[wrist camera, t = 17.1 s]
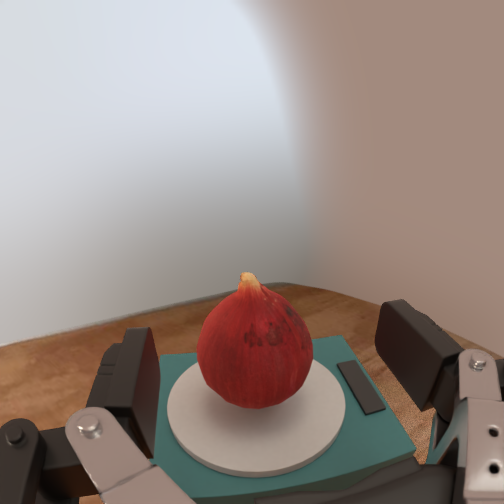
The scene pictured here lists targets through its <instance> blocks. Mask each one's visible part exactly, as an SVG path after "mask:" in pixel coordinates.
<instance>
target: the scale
mask: <svg viewBox="0 0 504 504" xmlns="http://www.w3.org/2000/svg"><path fill="white" fill-rule="evenodd" d="M312 344H313V361H312V364H311V368H310V371H309V373H308V375H307V378H306V380H305V382H304V384H303V386H302V387H301V388H300V389H299V390H298V391H297V392H296V393H295V394H294V395H293V396H291V397H290V398H288V399H287V400H285V401H283V402H282V403H280V404H278V405H274V406H270V407H266V408H262V409H249V408H242V407H239V406H236V405H234V404H231V403H228V402H226V401H225V400H224V399H223V398H222V397H221V396H220V395H218V394H217V393H216V392H215V391H214V390H212V389H211V388H210V387H209V386H208V385H207V384H206V382H205V380H204V377H203V375H202V373H201V370H200V367H199V364H198V361H197V353H185V354H168V355H160V362H159V365H160V373H161V383H160V392H159V402H158V412H157V423H156V435H155V449H154V459H150V460H149V461H150V462H151V463H152V464H153V465H154V464H157V465H158V466H159V467H160V468H161V469H162V470H163V471H164V472H165V473H166V474H167V475H168V476H169V477H170V478H171V479H172V480H173V481H174V482H175V483H176V484H177V485H178V486H179V487H180V488H181V489H182V490H183V491H184V492H185V493H186V494H187V495H188V496H189V497H190V498H191V499H192V500H193V501H194V502H195V503H196V504H254V498H260V497H267V496H273V495H279V494H285V493H290V492H296V491H327V490H343V489H346V488H348V487H350V486H352V485H354V484H356V483H357V482H359V481H361V480H362V479H364V478H366V477H367V476H369V475H371V474H372V473H374V472H376V471H377V470H379V469H380V468H383V467H386V466H389V465H392V464H394V463H397V462H399V461H402V460H405V459H407V458H410V457H412V456H413V454H414V453H415V451H416V447H415V445H414V444H413V442H412V440H411V439H410V437H409V436H408V434H407V433H406V431H405V430H404V428H403V427H402V425H401V423H400V422H399V420H398V419H397V417H396V416H395V414H394V413H393V411H392V410H391V408H390V407H389V405H388V404H387V402H386V400H385V399H384V397H383V396H382V394H381V393H380V391H379V390H378V388H377V387H376V385H375V384H374V382H373V381H372V379H371V378H370V376H369V375H368V373H367V372H366V370H365V369H364V367H363V366H362V364H361V363H360V361H359V360H358V358H357V357H356V355H355V354H354V353H353V351H352V350H351V348H350V347H349V345H348V344H347V342H346V341H345V339H344V338H343V336H342V335H337V336H331V337H325V338H319V339H313V340H312Z"/></svg>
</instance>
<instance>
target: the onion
mask: <svg viewBox="0 0 504 504" xmlns="http://www.w3.org/2000/svg"><path fill="white" fill-rule="evenodd" d="M240 279H241V282H240V283H239V286H238V291H236V292H235V293H233V294H231V295H229V296H228V297H226V298H225V299H224V300H223V301H222V302H220V303H219V304H218V305H217V306H216V307H215V308H214V309H213V310H212V311H211V313H210V314H209V315H208V316H207V318H206V320H205V322H204V323H203V327H202V330H201V333H200V337H199V340H198V344H197V361H198V364H199V367H200V370H201V373H202V375H203V377H204V380H205V382H206V384H207V385H208V386H209V387H210V388H211V389H212V390H214V391H215V392H216V393H217V394H218V395H220V396H221V397H222V398H223V399H224V400H225V401H226V402H228V403H231V404H234V405H236V406H239V407H242V408H249V409H262V408H266V407H270V406H274V405H278V404H280V403H282V402H283V401H285V400H287V399H288V398H290V397H291V396H293V395H294V394H295V393H296V392H297V391H298V390H299V389H300V388H301V387H302V386H303V384H304V382H305V380H306V378H307V375H308V373H309V371H310V368H311V364H312V361H313V344H312V340H311V337H310V334H309V331H308V329H307V326H306V324H305V322H304V321H303V319H302V318H301V317H300V315H299V314H298V313H297V311H296V310H295V309H294V308H293V306H292V305H291V304H290V303H289V302H288V301H287V300H286V299H285V298H283V297H282V296H280V295H279V294H277V293H275V292H273V291H270V290H268V289H267V288H266V287H265V286H263V285H262V284H261V283H260V282H259V281H258V280H257V278H256V276H255V275H253V274H252V273H248V272H245V273H242V274H241V276H240Z"/></svg>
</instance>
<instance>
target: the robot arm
mask: <svg viewBox="0 0 504 504" xmlns="http://www.w3.org/2000/svg"><path fill="white" fill-rule="evenodd" d="M375 347H376V350H377V353H378V354H379V356H380V357H381V358H382V360H383V361H384V362H385V364H386V365H387V366H388V368H389V369H390V370H391V372H392V373H393V374H394V376H395V377H396V378H397V380H398V381H399V382H400V384H401V385H402V386H403V388H404V389H405V390H406V392H407V393H408V394H409V396H410V397H411V398H412V400H413V401H414V403H415V404H416V405H417V407H418V408H419V409H420V411H421V412H423V411H425V410H428V409H430V408H433V407H434V408H435V409H436V411H435V413H434V415H433V421H432V429H431V437H430V444H429V450H428V456H427V460H426V462H425V464H421V465H419V463H418V462H417V460H416V458H415V457H414V456H412V457H410V458H407V459H405V460H402V461H399V462H397V463H394V464H392V465H389V466H386V467H383V468H380V469H379V470H377V471H376V472H374V473H372V474H371V475H369V476H367V477H366V478H364V479H362V480H361V481H359V482H357V483H356V484H354V485H352V486H350V487H348V488H346V489H343V490H327V491H296V492H290V493H285V494H279V495H273V496H267V497H260V498H254V504H504V359H500V360H494V359H493V357H492V356H491V355H489V354H488V353H486V352H484V351H482V350H479V349H467V350H464V349H463V348H462V347H461V346H460V345H459V344H458V343H457V342H456V341H454V340H453V339H452V338H451V337H450V336H449V335H448V334H447V333H446V332H445V331H442V329H441V328H440V327H439V326H438V325H436V324H435V322H434V321H433V320H432V319H430V318H429V317H428V316H427V315H425V314H423V313H421V312H419V311H417V310H415V309H414V308H413V307H411V306H410V305H409V304H408V303H407V302H406V301H405V300H402V299H400V300H394V301H388V302H384V303H383V304H382V306H381V309H380V315H379V320H378V325H377V330H376V335H375ZM100 365H101V366H99V369H98V372H97V375H96V377H95V380H94V383H93V386H92V389H91V392H90V395H89V398H88V401H87V404H86V407H85V408H83V409H81V410H79V411H77V412H75V413H74V414H73V415H72V416H71V417H70V418H69V419H68V421H67V423H66V426H65V427H61V428H55V429H49V430H42V431H39V430H38V429H37V427H36V426H35V424H34V423H33V422H31V421H30V420H27V419H23V418H18V419H13V420H11V421H9V422H7V423H5V424H4V425H3V426H2V427H1V428H0V504H79V497H83V496H90V495H96V494H99V496H100V498H101V499H102V501H103V503H104V504H196V503H195V502H194V501H193V500H192V499H191V498H190V497H189V496H188V495H187V494H186V493H185V492H184V491H183V490H182V489H181V488H180V487H179V486H178V485H177V484H176V483H175V482H174V481H173V480H172V479H171V478H170V477H169V476H168V475H167V474H166V473H165V472H164V471H163V470H162V469H161V468H160V467H159V466H158V465H157V464H154V465H153V464H152V463H151V462H150V461H149V460H148V459H154V449H155V435H156V423H157V412H158V402H159V392H160V383H161V373H160V365H159V361H158V357H157V353H156V348H155V344H154V339H153V335H152V331H151V328H150V327H140V328H127V330H126V333H125V336H124V339H123V342H122V343H114V344H113V345H112V346H111V347H110V348H109V349H108V350H107V351H106V352H105V353H104V355H103V358H102V361H101V363H100Z"/></svg>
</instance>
